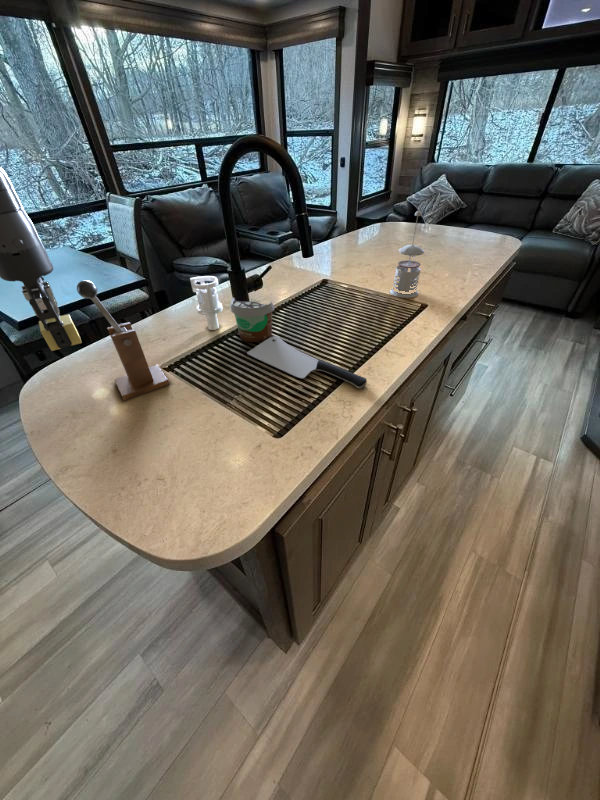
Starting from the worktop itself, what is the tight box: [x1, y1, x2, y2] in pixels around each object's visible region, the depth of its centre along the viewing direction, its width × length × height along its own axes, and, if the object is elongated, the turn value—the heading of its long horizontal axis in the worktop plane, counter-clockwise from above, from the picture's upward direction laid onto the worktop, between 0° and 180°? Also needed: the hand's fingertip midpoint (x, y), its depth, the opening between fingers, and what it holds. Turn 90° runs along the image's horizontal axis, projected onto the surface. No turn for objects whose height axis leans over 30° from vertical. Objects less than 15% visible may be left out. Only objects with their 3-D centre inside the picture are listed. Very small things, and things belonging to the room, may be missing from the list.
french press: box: [389, 210, 426, 299], centre depth 108 cm, size 10×12×25 cm
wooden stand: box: [106, 321, 170, 401], centre depth 72 cm, size 10×8×14 cm
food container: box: [230, 297, 275, 343], centre depth 89 cm, size 12×6×10 cm, turn 71°
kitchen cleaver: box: [246, 335, 368, 389], centre depth 80 cm, size 31×2×10 cm
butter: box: [38, 313, 83, 352], centre depth 62 cm, size 5×5×4 cm
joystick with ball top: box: [76, 279, 127, 334], centre depth 65 cm, size 14×3×3 cm
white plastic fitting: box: [189, 275, 224, 331], centre depth 93 cm, size 7×7×15 cm
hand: (64, 340), depth 62 cm, fingers closed on butter, 5 cm apart
